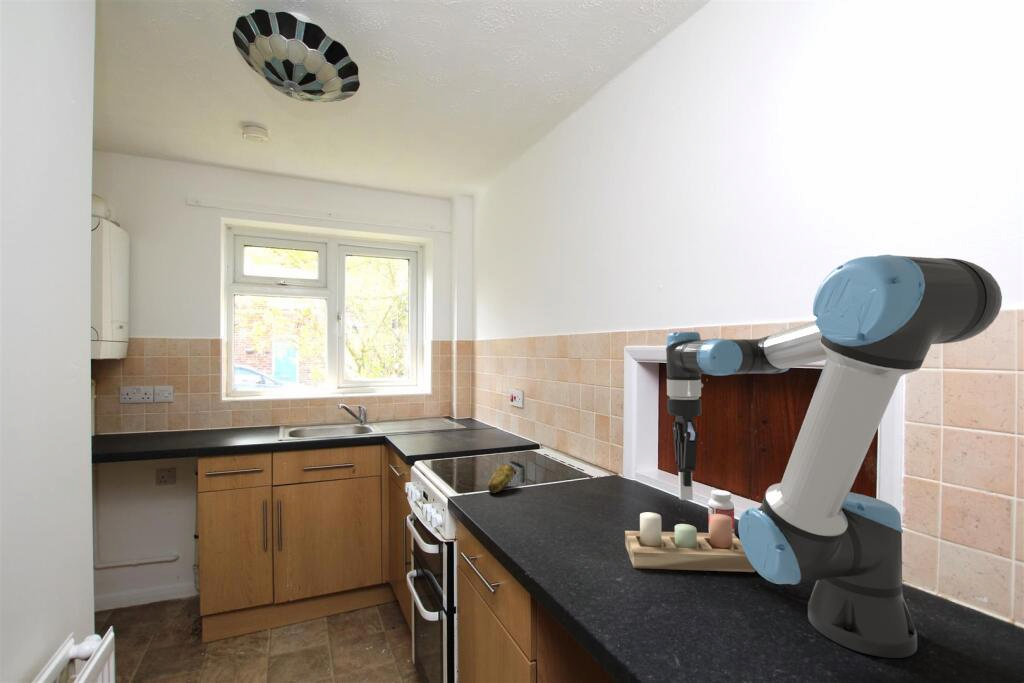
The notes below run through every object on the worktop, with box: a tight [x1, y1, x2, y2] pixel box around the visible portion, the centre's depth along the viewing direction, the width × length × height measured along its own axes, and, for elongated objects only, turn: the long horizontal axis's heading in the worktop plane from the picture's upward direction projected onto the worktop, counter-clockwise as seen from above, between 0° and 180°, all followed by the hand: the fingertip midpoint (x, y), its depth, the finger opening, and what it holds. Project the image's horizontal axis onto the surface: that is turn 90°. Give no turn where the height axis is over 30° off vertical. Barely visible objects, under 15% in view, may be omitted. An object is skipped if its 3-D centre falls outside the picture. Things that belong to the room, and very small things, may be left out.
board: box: [624, 530, 756, 573], centre depth 108 cm, size 12×26×4 cm, turn 85°
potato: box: [487, 464, 515, 494], centre depth 160 cm, size 8×13×8 cm, turn 134°
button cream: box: [639, 511, 662, 546], centre depth 109 cm, size 5×5×6 cm
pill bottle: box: [707, 489, 736, 535], centre depth 121 cm, size 6×6×11 cm
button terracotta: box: [710, 514, 733, 548], centre depth 107 cm, size 5×5×6 cm
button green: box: [674, 523, 698, 548], centre depth 108 cm, size 5×5×6 cm
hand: (685, 498), depth 108 cm, fingers closed
